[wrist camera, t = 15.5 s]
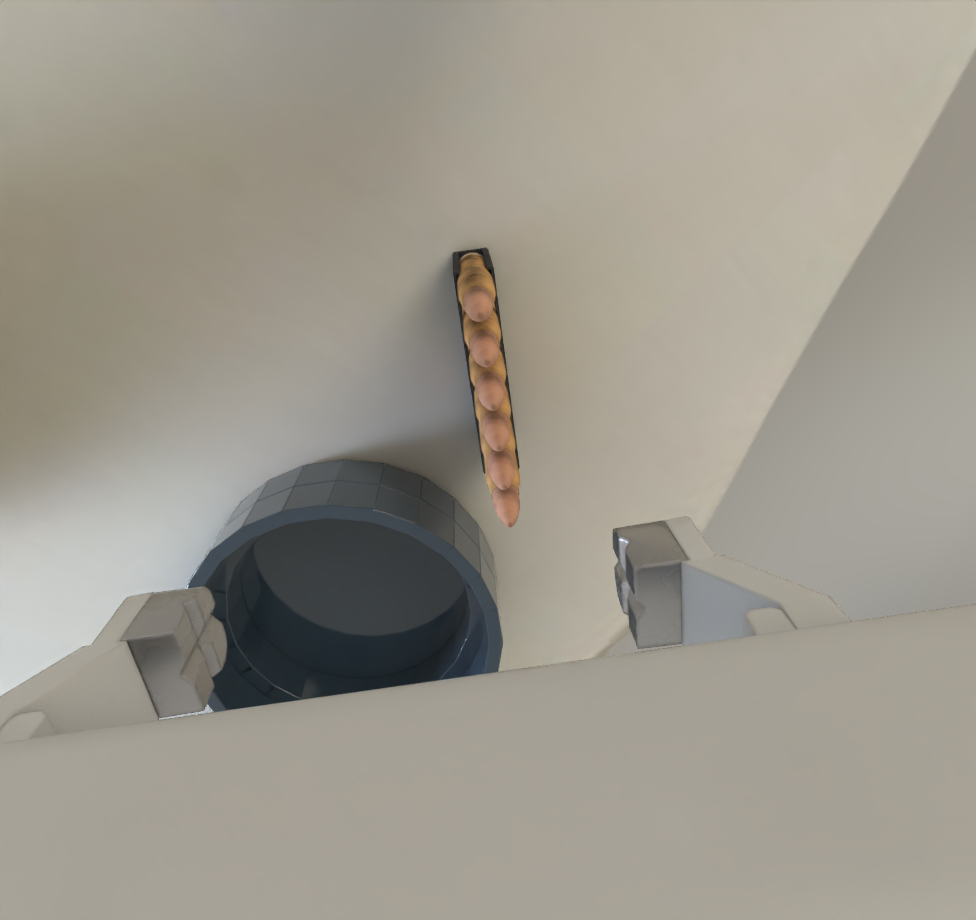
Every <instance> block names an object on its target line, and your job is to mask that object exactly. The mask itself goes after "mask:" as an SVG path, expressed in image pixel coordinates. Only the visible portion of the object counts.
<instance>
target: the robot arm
mask: <svg viewBox="0 0 976 920" xmlns="http://www.w3.org/2000/svg"><path fill="white" fill-rule="evenodd" d="M613 549H614V551H615V554H616V556H617V558H618V562H617V564H616V565H615V567H614V569H615V580H616V587H617V593H618V597H619V601H620V604H621V607H622V610H623V612H624V613H625V614H627V615H628V616H629V628H630V630H631V632H632V635H633V637H634V640H635V642H636V645H637V647H638V649H641V648H650V647H658V646H667V645H676V644H683V646H676V647H669V648H662V649H655V650H648V651H641V652H634V653H627V654H620V655H613V656H606V657H599V658H592V659H585V660H578V661H571V662H564V663H557V664H550V665H543V666H536V667H529V668H522V669H515V670H508V671H501V672H494V673H487V674H480V675H473V676H466V677H459V678H452V679H445V680H438V681H431V682H424V683H417V684H410V685H403V686H396V687H388V688H381V689H374V690H367V691H360V692H353V693H346V694H339V695H332V696H325V697H318V698H311V699H304V700H297V701H290V702H283V703H276V704H269V705H262V706H255V707H248V708H241V709H234V710H227V711H220V712H212V713H205V714H198V715H191V716H184V717H177V718H170V719H163V720H159V718H164V717H170V716H175V715H181V714H187V713H193V712H199V711H204V709H205V707H206V705H207V702H208V700H209V698H210V696H211V693H212V691H213V689H214V687H215V685H214V682H213V679H212V677H214V676H215V675H216V674H217V673H219V672H220V671H221V670H222V668H223V666H224V663H225V661H226V656H227V638H226V633H225V629H224V626H223V623H222V622H220V621H219V620H218V619H216V618H215V617H214V616H212V615H211V614H212V612H213V610H214V608H215V605H216V603H215V601H214V598H213V596H212V593H211V591H210V590H209V589H208V588H206V587H205V586H204V587H196V588H188V589H180V590H172V591H163V592H157V593H154V592H152V593H146V594H140V595H134V596H130V597H127V598H126V599H125V600H124V601H123V603H122V604H121V605H120V607H119V608H118V609H117V611H116V612H115V613H114V615H113V616H112V617H111V619H110V620H109V622H108V623H107V624H106V626H105V627H104V628H103V630H102V631H101V632H100V634H99V635H98V636H97V638H96V639H95V640H94V642H93V643H92V644H91V645H90V646H83V647H81V648H80V649H78V650H76V651H75V652H73V653H71V654H70V655H68V656H66V657H65V658H63V659H61V660H60V661H58V662H56V663H55V664H53V665H51V666H50V667H48V668H47V669H45V670H43V671H42V672H40V673H38V674H37V675H35V676H33V677H32V678H30V679H28V680H27V681H25V682H23V683H22V684H20V685H18V686H17V687H15V688H13V689H12V690H10V691H8V692H7V693H5V694H4V695H2V696H0V920H976V604H972V605H964V606H957V607H950V608H943V609H936V610H929V611H922V612H915V613H908V614H901V615H894V616H887V617H880V618H873V619H865V620H859V621H852V620H851V619H850V618H849V617H848V616H847V615H846V614H845V612H844V611H843V610H842V609H841V608H840V607H839V606H838V605H837V603H836V602H835V601H834V600H833V599H832V598H831V597H830V596H827V595H824V594H822V593H819V592H817V591H814V590H812V589H809V588H806V587H804V586H801V585H799V584H796V583H794V582H791V581H789V580H786V579H783V578H781V577H778V576H776V575H773V574H771V573H768V572H765V571H763V570H760V569H758V568H755V567H753V566H750V565H747V564H745V563H742V562H740V561H737V560H734V559H732V558H730V557H727V556H724V555H723V556H716V554H715V553H714V552H713V550H712V549H711V548H710V546H709V545H708V543H707V542H706V540H705V539H704V538H703V536H702V535H701V533H700V532H699V530H698V529H697V528H696V526H695V525H694V523H693V522H692V520H691V519H690V518H689V517H680V518H675V519H669V520H663V521H657V522H651V523H645V524H639V525H633V526H627V527H621V528H615V529H613Z"/></svg>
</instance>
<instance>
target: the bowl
mask: <svg viewBox="0 0 976 920" xmlns="http://www.w3.org/2000/svg"><path fill="white" fill-rule="evenodd" d="M204 586H205V587H206V588H208V589H209V590H210V591H211V593H212V596H213V598H214V601H215V603H216V605H215V608H214V610H213V612H212V614H211V615H212V616H214V617H215V618H216V619H218V620H219V621H220V622H222V623H223V626H224V629H225V633H226V638H227V656H226V661H225V663H224V666H223V668H222V670H221V671H220V672H219V673H217V674H216V675H215V676H214V677H212V679H213V682H214V685H215V687H214V689H213V691H212V693H211V696H210V698H209V700H208V702H207V704H208V705H209V706H210V708H211V709H212V710H213V712H220V711H227V710H234V709H241V708H248V707H255V706H262V705H269V704H276V703H283V702H290V701H297V700H304V699H311V698H318V697H325V696H332V695H339V694H346V693H353V692H360V691H367V690H374V689H381V688H388V687H396V686H403V685H410V684H417V683H424V682H431V681H438V680H445V679H452V678H459V677H466V676H473V675H480V674H487V673H494V672H498V669H499V663H500V657H501V652H502V646H503V637H502V627H501V617H500V606H499V596H498V586H497V579H496V572H495V566H494V559H493V555H492V552H491V550H490V548H489V545H488V543H487V541H486V539H485V537H484V535H483V533H482V531H481V529H480V527H479V525H478V524H477V522H476V521H475V520H474V519H473V518H472V517H471V516H470V515H469V513H468V512H467V511H466V510H465V509H464V508H463V507H462V506H461V505H460V503H459V502H458V501H457V500H456V499H455V498H453V497H452V496H451V495H449V494H448V493H446V492H445V491H443V490H442V489H440V488H438V487H437V486H435V485H434V484H432V483H431V482H429V481H428V480H426V479H425V478H423V477H421V476H418V475H416V474H413V473H410V472H407V471H404V470H401V469H398V468H395V467H393V466H390V465H387V464H384V463H375V462H365V461H355V460H337V461H330V462H323V463H316V464H308V465H305V466H301V467H299V468H297V469H294V470H292V471H289V472H287V473H284V474H282V475H280V476H277V477H275V478H272V479H270V480H269V481H267V482H266V483H265V484H263V485H262V486H261V487H259V488H258V489H257V490H256V491H254V492H253V493H252V494H250V495H249V496H248V497H247V498H245V499H244V500H243V501H242V502H241V503H240V504H239V505H238V507H237V508H236V510H235V511H234V512H233V514H232V515H231V517H230V518H229V520H228V521H227V522H226V524H225V525H224V527H223V528H222V530H221V531H220V533H219V534H218V536H217V538H216V539H215V541H214V542H213V544H212V545H211V547H210V549H209V550H208V552H207V553H206V555H205V556H204V558H203V560H202V561H201V563H200V564H199V566H198V567H197V569H196V571H195V572H194V574H193V575H192V577H191V579H190V580H189V582H188V584H187V588H186V589H188V588H196V587H204Z"/></svg>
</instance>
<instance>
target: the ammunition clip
mask: <svg viewBox="0 0 976 920" xmlns="http://www.w3.org/2000/svg"><path fill="white" fill-rule="evenodd" d="M453 276H454V283H455V289H456V296H457V302H458V309H459V315H460V322H461V328H462V335H463V341H464V348H465V354H466V361H467V367H468V374H469V380H470V387H471V393H472V400H473V406H474V413H475V419H476V426H477V432H478V439H479V445H480V452H481V458H482V465H483V472H484V473H485V474H486V482H487V486H488V488H489V490H490V491H491V495H492V499H493V503H494V508H495V511H496V513H497V515H498V517H499V519H500V520H501V522H502V523H503V524H504V525H505V526H507V527H512V526H513V525H514V524H515V523H516V521H517V518H518V514H519V510H520V501H519V484H520V475H519V459H518V452H517V444H516V436H515V429H514V421H513V413H512V406H511V398H510V390H509V382H508V375H507V367H506V359H505V352H504V344H503V336H502V329H501V321H500V313H499V306H498V298H497V290H496V282H495V275H494V267H493V264H492V261H491V257H490V254H489V251H488V249H487V248H480V249H473V250H466V251H460V252H454V253H453Z"/></svg>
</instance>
